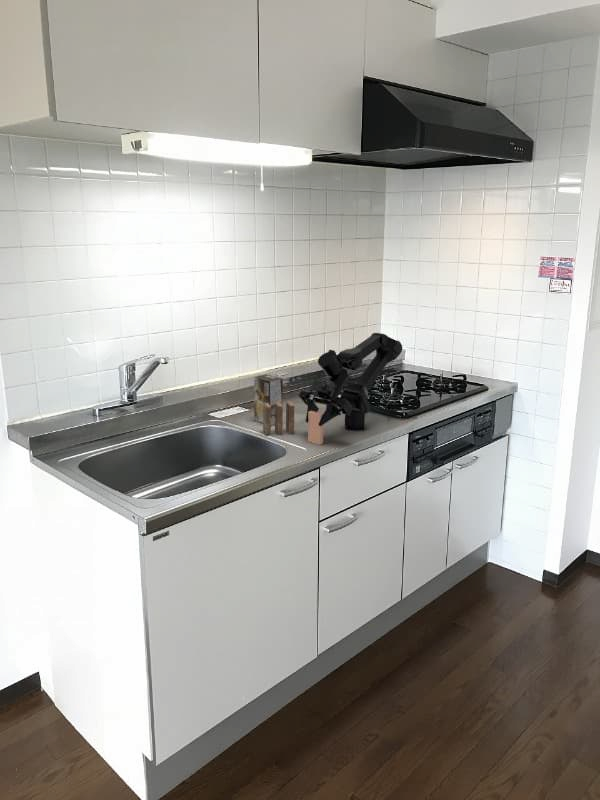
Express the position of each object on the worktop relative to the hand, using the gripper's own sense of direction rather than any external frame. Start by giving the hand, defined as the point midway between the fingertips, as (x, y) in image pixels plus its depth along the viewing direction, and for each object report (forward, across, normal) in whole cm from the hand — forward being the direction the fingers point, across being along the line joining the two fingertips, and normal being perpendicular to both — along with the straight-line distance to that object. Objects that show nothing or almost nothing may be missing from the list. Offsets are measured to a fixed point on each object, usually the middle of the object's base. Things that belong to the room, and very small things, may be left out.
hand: (312, 423), depth 211 cm
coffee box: (-1, -27, +10) cm, 29 cm away
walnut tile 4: (+6, -18, +3) cm, 19 cm away
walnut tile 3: (+4, -16, +5) cm, 17 cm away
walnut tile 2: (+2, -13, +8) cm, 15 cm away
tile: (+4, 0, +6) cm, 7 cm away
